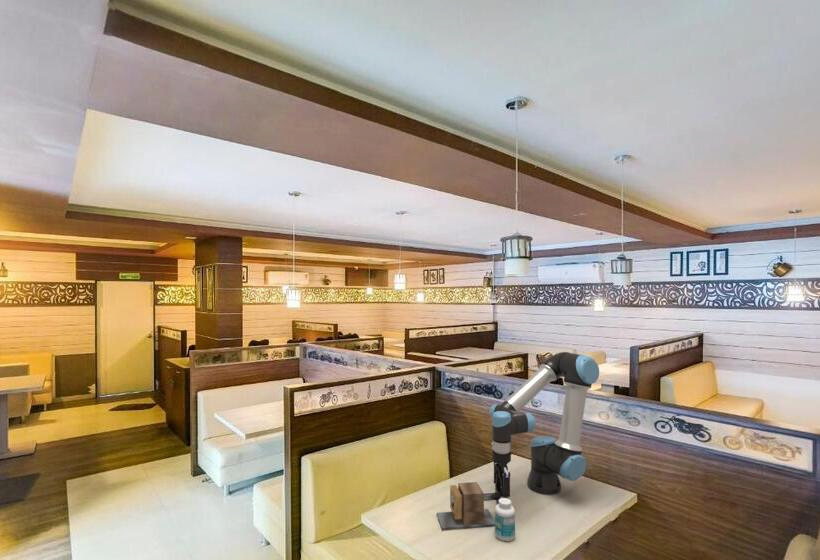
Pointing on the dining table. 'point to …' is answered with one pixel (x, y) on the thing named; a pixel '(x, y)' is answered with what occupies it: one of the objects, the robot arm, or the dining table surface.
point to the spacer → (456, 502)
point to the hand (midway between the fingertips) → (501, 507)
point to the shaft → (488, 495)
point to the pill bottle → (505, 520)
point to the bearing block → (468, 510)
